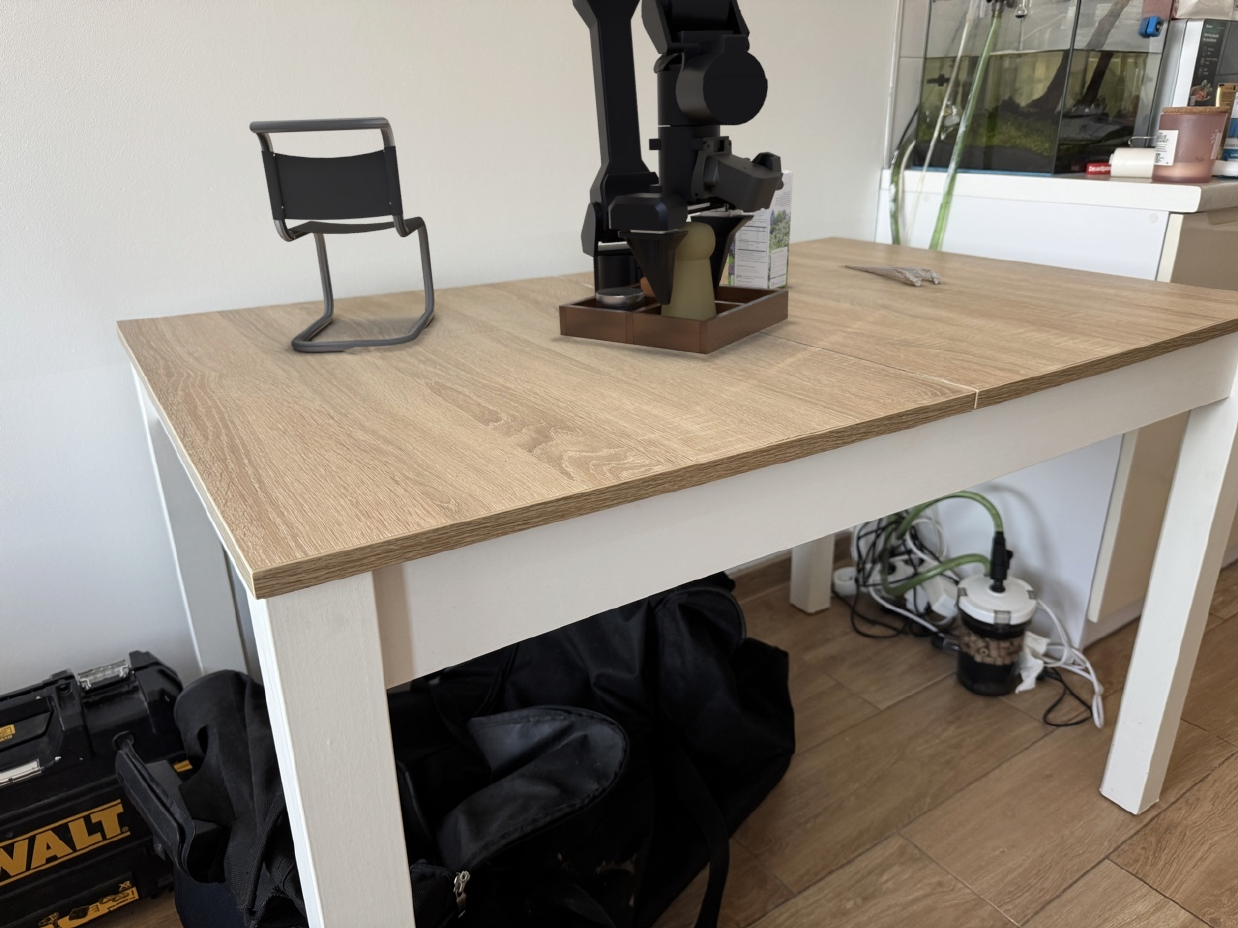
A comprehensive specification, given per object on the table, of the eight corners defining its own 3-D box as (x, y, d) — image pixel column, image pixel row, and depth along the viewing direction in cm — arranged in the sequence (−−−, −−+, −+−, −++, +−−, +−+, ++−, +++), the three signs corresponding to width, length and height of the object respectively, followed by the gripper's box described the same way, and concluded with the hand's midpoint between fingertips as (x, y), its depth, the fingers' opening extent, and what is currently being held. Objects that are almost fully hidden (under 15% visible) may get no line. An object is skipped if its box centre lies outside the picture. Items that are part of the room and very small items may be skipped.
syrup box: (748, 283, 120) (750, 168, 115) (789, 286, 117) (793, 168, 112) (727, 290, 116) (728, 171, 111) (769, 294, 113) (772, 171, 108)
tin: (587, 332, 94) (586, 294, 93) (615, 323, 98) (614, 285, 97) (627, 337, 92) (626, 298, 90) (654, 327, 96) (653, 289, 94)
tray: (560, 339, 94) (558, 305, 93) (651, 308, 107) (651, 278, 106) (707, 359, 85) (707, 322, 83) (787, 322, 98) (788, 290, 97)
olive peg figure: (654, 331, 93) (652, 220, 89) (713, 328, 94) (713, 217, 90) (662, 344, 87) (660, 227, 84) (724, 341, 88) (725, 224, 84)
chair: (282, 355, 92) (242, 121, 84) (327, 319, 108) (297, 120, 100) (412, 349, 92) (384, 116, 84) (437, 314, 108) (416, 116, 100)
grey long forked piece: (943, 283, 116) (943, 267, 116) (912, 287, 115) (913, 271, 114) (859, 273, 132) (859, 259, 131) (831, 277, 130) (831, 263, 129)
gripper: (716, 127, 72) (715, 322, 77) (813, 121, 86) (806, 286, 92) (602, 130, 78) (608, 311, 84) (710, 123, 92) (709, 278, 98)
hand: (689, 296), depth 89 cm, fingers open, 9 cm apart
